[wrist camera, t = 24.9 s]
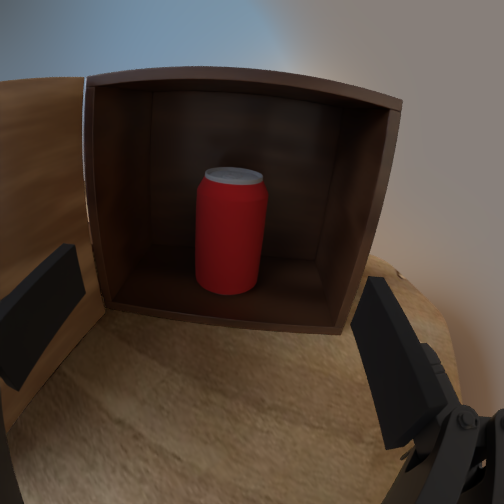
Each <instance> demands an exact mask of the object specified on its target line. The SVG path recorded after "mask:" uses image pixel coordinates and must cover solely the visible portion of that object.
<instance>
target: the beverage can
mask: <svg viewBox="0 0 504 504" xmlns="http://www.w3.org/2000/svg"><path fill="white" fill-rule="evenodd" d="M267 203H268V191H267V189H266V186H265V184H264V181H263V175H262V174H261V173H259V172H256V171H253V170H249V169H243V168H234V167H218V168H211V169H208V170H206V172H205V176H204V178H203V179H202V181H201V183H200V184H199V186H198V188H197V200H196V230H195V276H196V280H197V282H198V283H199V284H200V285H201V286H202V287H203V288H204V289H206V290H208V291H210V292H213V293H216V294H220V295H236V294H240V293H244V292H246V291H248V290H250V289H251V288H253V287H254V286H255V284H256V282H257V277H258V271H259V264H260V257H261V250H262V243H263V235H264V227H265V219H266V211H267Z"/></svg>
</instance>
